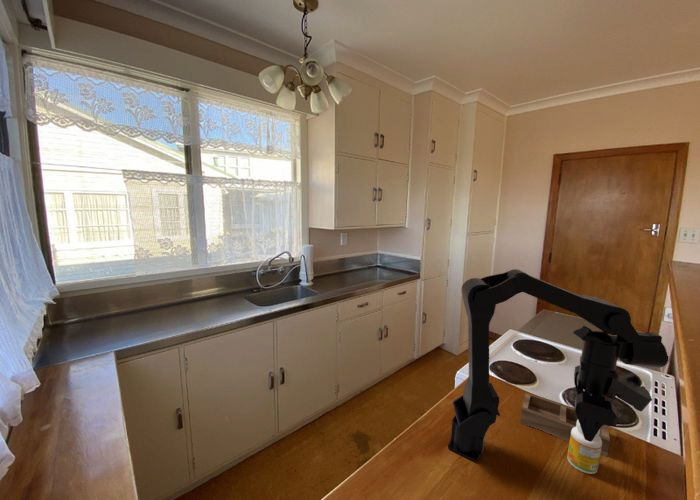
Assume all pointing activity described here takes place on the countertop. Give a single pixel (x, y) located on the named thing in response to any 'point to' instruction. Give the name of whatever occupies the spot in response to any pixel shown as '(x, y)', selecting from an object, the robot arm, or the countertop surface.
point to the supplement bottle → (584, 451)
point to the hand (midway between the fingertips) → (587, 427)
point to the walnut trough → (555, 419)
